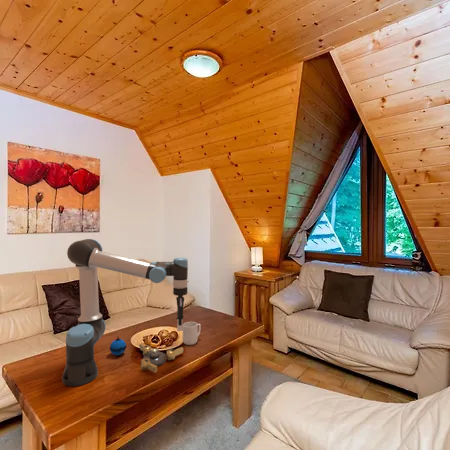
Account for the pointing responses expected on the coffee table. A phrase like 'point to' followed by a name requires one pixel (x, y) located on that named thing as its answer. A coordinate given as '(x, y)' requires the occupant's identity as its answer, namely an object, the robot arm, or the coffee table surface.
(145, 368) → the knob
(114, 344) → the ornament
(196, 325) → the mug
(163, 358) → the tribrach plate
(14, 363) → the coffee table surface
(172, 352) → the knob
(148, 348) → the knob
